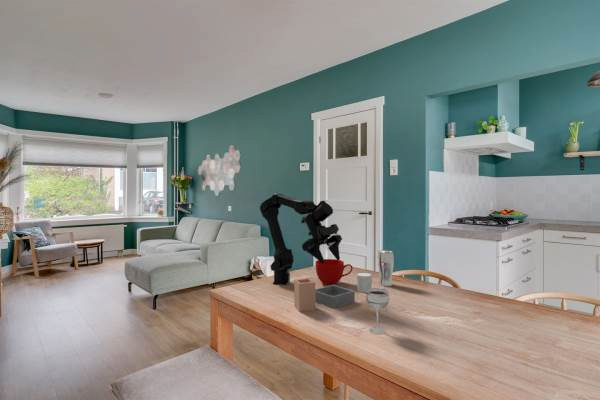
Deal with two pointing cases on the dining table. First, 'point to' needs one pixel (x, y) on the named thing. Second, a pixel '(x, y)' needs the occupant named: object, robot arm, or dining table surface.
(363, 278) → the white cylindrical piece
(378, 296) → the wineglass
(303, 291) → the terracotta bin
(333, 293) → the grey square tray
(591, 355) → the dining table surface
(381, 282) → the beer glass
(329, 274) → the ceramic cup
